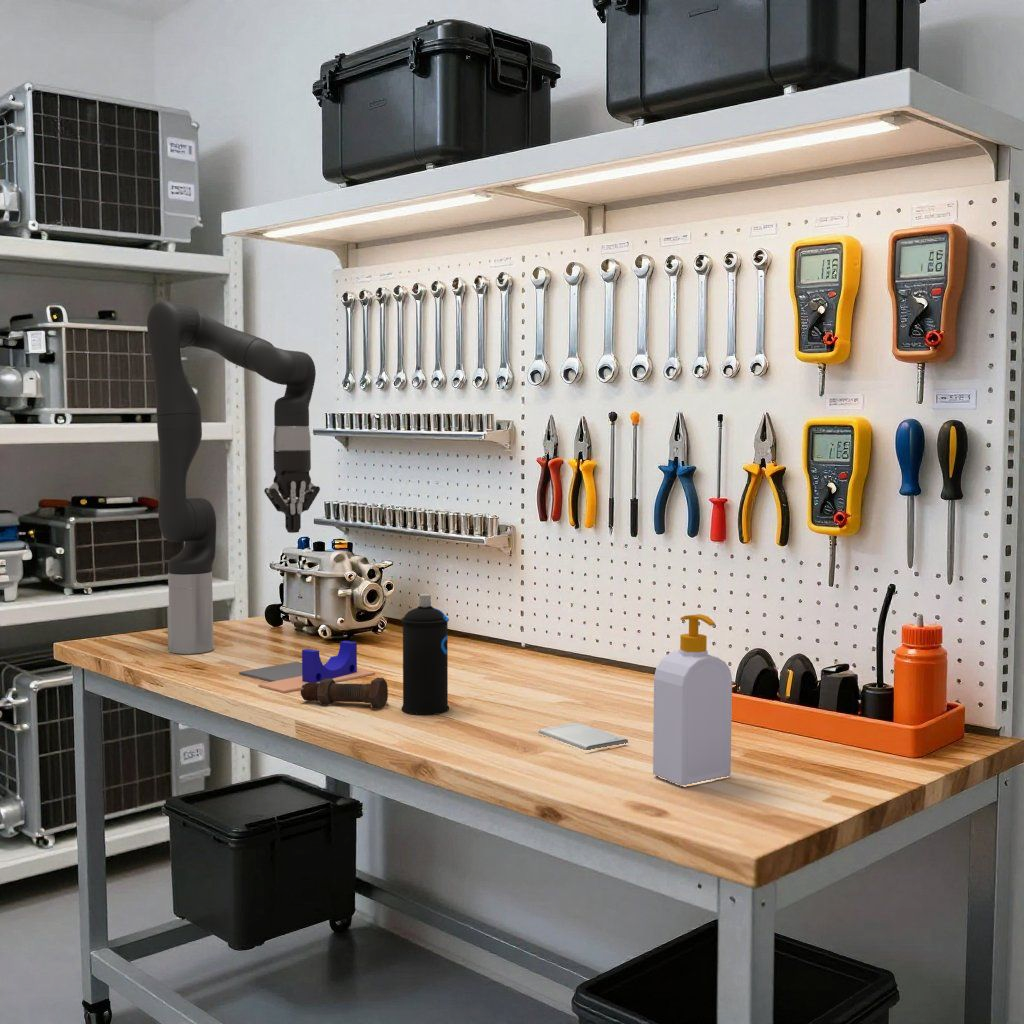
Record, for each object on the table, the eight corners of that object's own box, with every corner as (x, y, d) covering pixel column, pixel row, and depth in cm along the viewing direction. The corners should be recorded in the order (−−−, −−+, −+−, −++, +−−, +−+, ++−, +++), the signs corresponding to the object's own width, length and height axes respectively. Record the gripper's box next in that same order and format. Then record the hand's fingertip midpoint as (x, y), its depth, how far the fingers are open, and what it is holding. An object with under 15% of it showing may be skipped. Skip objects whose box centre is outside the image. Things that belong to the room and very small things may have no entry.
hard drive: (628, 738, 176) (579, 721, 187) (586, 746, 172) (538, 728, 182) (628, 749, 176) (579, 731, 187) (585, 757, 172) (538, 738, 182)
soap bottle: (685, 790, 154) (687, 621, 153) (652, 777, 160) (653, 614, 158) (735, 779, 159) (737, 615, 157) (701, 767, 165) (703, 608, 163)
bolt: (306, 711, 205) (385, 714, 201) (295, 703, 201) (375, 705, 197) (312, 680, 207) (390, 682, 204) (301, 671, 203) (380, 673, 199)
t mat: (221, 677, 224) (221, 675, 224) (312, 660, 240) (312, 658, 240) (284, 693, 211) (284, 690, 211) (375, 674, 227) (375, 672, 227)
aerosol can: (409, 717, 193) (409, 599, 192) (395, 706, 201) (395, 592, 199) (455, 712, 196) (455, 596, 195) (440, 702, 204) (440, 590, 202)
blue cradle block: (340, 669, 229) (339, 639, 229) (356, 672, 227) (356, 642, 226) (296, 680, 220) (296, 649, 219) (313, 683, 217) (313, 651, 217)
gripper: (306, 447, 244) (307, 529, 245) (254, 448, 234) (255, 533, 235) (329, 448, 239) (329, 531, 240) (276, 449, 229) (277, 535, 230)
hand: (293, 532), depth 237 cm, fingers closed
